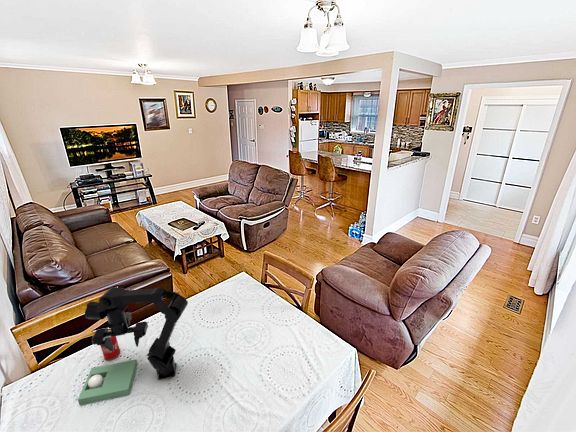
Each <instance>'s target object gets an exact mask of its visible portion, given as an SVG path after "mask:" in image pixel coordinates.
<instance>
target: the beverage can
mask: <svg viewBox="0 0 576 432" xmlns="http://www.w3.org/2000/svg"><path fill="white" fill-rule="evenodd" d="M108 331H111V329H108ZM108 331H107V332H108ZM110 339H111V342H112V344H113V348H114V350H113V351H110V350H109V349H107V348H105V347H103V346H101V345H99V346H100V348H101V349H100V350H101V352H102V354H103V358H104V359H105V360H106V361H110V360H114V359H116V358H117V357H118V356H119V355H120V354H121V348H120V346H119V341H118V339H117V336H114V337H110Z"/></svg>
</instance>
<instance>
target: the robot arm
mask: <svg viewBox="0 0 576 432" xmlns="http://www.w3.org/2000/svg"><path fill="white" fill-rule="evenodd" d="M163 298H164V299H171V302H170V304H168V305H166V303H165V302H164V300H163ZM144 303H146V304H147V303H152V304H154V305H155V306H156V307H157V309H158V310H159V312H160V313H161V314H163V315H164V319H165V321H164V325H163V327H162V329H161V332H160V334H159V337H156V338H155V339H154V341H153V342H152V344H151V346H150V347H149V349H148V353H147V354H146V357H147V360H148V362H149V364H151V366H152V368H153V369H154V370H155V371H156V375H157V380H165V379H168V378H173V377H176V368H177V362H176V361H175V358H174V355H175V354H176V351H177V350H176V349H175V348H174V347H172V346H171V345H170V344H171V343H170V339H171V337H172V335H173V332H174V330H175V327H176V324H177V323H178V321H179V319H180V318H181V317H182V314H183V313H184V311H185V309H186V308H187V306H188V304H189V302H188V300H187V299H186V298H185V297H184V296H183V295H181V294H180V293H177V291H171V290H168V289H165V288H163V287H161V286H159V287H156V288H143V289H142V288H141V289H125V288H124V287H119V286H113V287H109V289H107V290H106V292H104V293H103V294H102V295H101V296H100V297H99V299H98V301H92V300H91V301H90V300H89V302H88V303H86V308H85V311H84V318H85V319H88V320H104V319H105V318H107V321H108V326H107V327H103V328H98V329H96V330H95V332H94V333H93V336H92V337H91V343H92V345H95V346H96V345H97V346H100V345H101V346H103V347H105V348H107V349H109V350H110V351H113V350H114V348H113V344H112V342H111V339H110V337H114V336H116V337H118V336H124V335H126V334H133V336H134V338H133V340H134V343H135V346H136V348H138V347H139V344H140V339H141V338H143V337H145V336H146V334H147V332H148V326H149V324H148V322H147V321H140V322H139V321H138V322H136V323H135V325H134V326H130V325H131V320H132V319H133V318H132V312H131V311H128V312H125V310H126V309H127V308H128V307H129V305H130V304H144ZM108 330H111V331H108ZM107 331H108V332H107ZM101 346H100V347H101Z"/></svg>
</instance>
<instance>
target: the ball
mask: <svg viewBox="0 0 576 432" xmlns="http://www.w3.org/2000/svg"><path fill="white" fill-rule="evenodd" d="M103 383H104V378H103V377H102V376H101V375H94V376H92V377H91V378H90V379H89V381H88V387H89V388H90V389H94V388H99V387H102V385H103Z"/></svg>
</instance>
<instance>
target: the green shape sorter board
mask: <svg viewBox="0 0 576 432" xmlns="http://www.w3.org/2000/svg"><path fill="white" fill-rule="evenodd" d="M138 364H139V363H138V361H137V359H131V360H126V361H120V362H114V363H111V364H110V363H109V364H105V365H100V366H94V367H91V369H90V371H89V373H88V376H87V377H86V380H85V382H84V384H83V387H82V389H81V391H80V393H79V396H78V398H77V402H78V404H79V406H83V405H87V404H92V403H96V402H100V401H105V400H106V401H107V400H110V399H115V398H119V397H125V396H129V395H130V394H131V390H132V387H133V383H134V379H135V375H136V372H137V369H138ZM94 375H101V376H102V377H103V383H102V385H101V386H100V387H98V388H94V389H90V388H89V387H88V381H89V379H90V378H91V377H92V376H94Z"/></svg>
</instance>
